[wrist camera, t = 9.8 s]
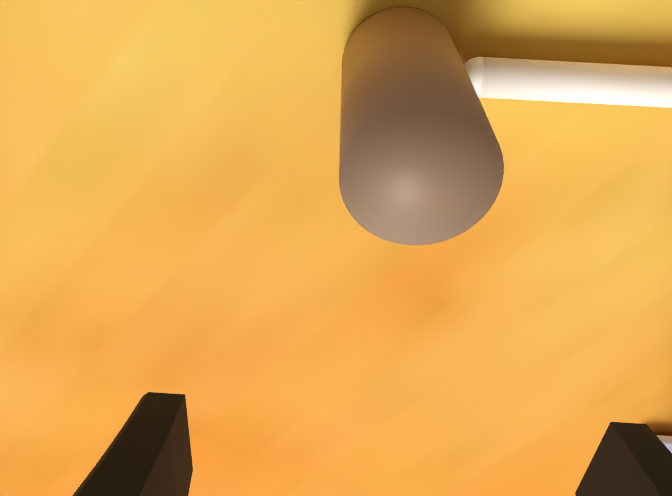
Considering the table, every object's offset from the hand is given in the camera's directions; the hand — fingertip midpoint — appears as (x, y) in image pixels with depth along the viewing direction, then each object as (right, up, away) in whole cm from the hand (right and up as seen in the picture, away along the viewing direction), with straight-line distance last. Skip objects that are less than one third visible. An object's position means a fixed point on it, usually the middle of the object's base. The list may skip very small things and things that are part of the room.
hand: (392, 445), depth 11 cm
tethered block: (+8, +8, +6) cm, 13 cm away
